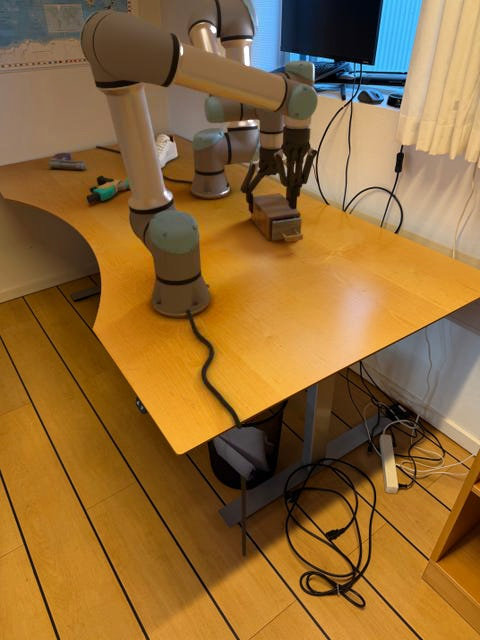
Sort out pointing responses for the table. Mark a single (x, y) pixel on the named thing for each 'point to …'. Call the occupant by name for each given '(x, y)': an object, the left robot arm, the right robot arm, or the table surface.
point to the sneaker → (166, 148)
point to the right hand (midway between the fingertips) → (269, 209)
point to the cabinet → (270, 211)
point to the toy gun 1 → (66, 162)
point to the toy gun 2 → (106, 189)
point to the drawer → (286, 229)
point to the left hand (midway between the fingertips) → (292, 207)
